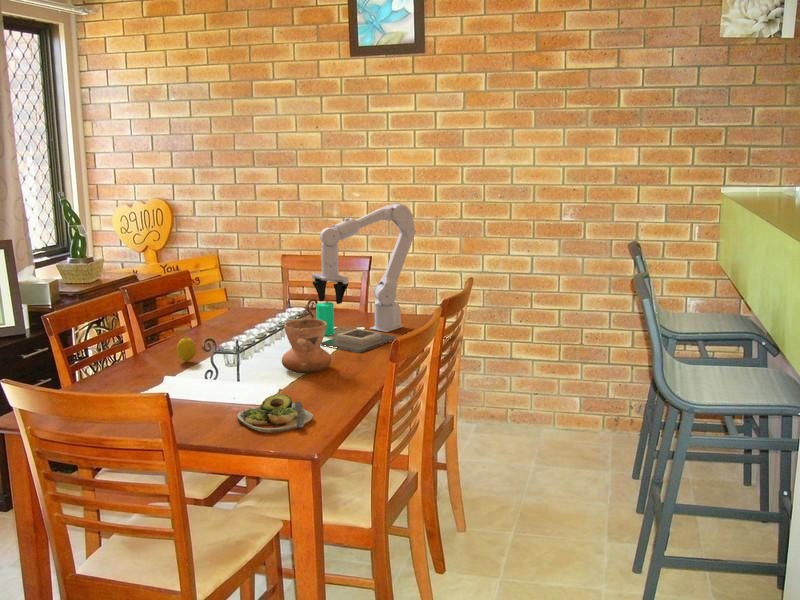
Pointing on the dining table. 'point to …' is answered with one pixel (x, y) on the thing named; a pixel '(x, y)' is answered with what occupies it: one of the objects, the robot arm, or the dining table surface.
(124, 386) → the dining table surface
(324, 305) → the candle
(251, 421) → the salad plate
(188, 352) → the lemon
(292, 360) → the ceramic jug
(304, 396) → the dining table surface
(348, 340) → the candle base
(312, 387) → the dining table surface
